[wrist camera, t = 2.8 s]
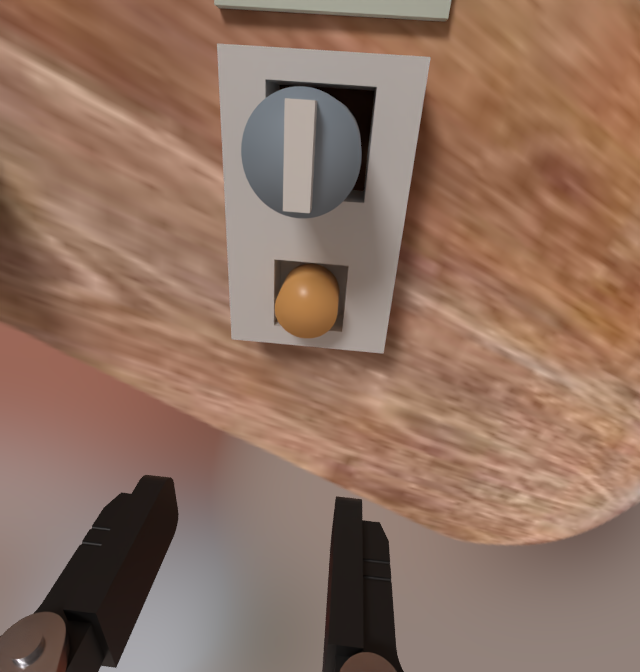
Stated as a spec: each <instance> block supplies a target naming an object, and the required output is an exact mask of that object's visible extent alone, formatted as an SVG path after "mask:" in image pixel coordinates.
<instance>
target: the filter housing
mask: <svg viewBox="0 0 640 672" xmlns="http://www.w3.org/2000/svg"><path fill="white" fill-rule="evenodd" d="M217 52H218V72H219V92H220V112H221V132H222V153H223V173H224V193H225V213H226V233H227V254H228V274H229V294H230V314H231V334H232V339H235V340H246V341H257V342H267V343H278V344H288V345H299V346H309V347H320V348H330V349H341V350H352V351H362V352H373V353H384V347H385V341H386V334H387V328H388V322H389V315H390V309H391V303H392V297H393V290H394V284H395V278H396V271H397V265H398V259H399V252H400V246H401V240H402V234H403V227H404V221H405V215H406V208H407V202H408V196H409V190H410V183H411V177H412V171H413V164H414V158H415V152H416V146H417V139H418V133H419V127H420V120H421V114H422V108H423V101H424V95H425V89H426V83H427V76H428V70H429V64H430V57H421V56H405V55H389V54H373V53H358V52H342V51H326V50H310V49H294V48H278V47H262V46H247V45H231V44H217ZM279 85H294V86H308V87H323V88H338V89H353V90H368V91H374V97H373V107H372V116H371V125H370V135H369V144H368V153H367V163H366V172H365V181H364V190H363V191H358V190H351V192H350V194H349V195H348V196H347V198H346V199H345V200H344V201H343V202H342V203H341V204H340V205H339V206H337V207H336V208H335V209H333V210H332V211H330V212H328V213H326V214H323V215H321V216H318V217H314V218H293V217H289V216H285V215H282V214H280V213H278V212H276V211H274V210H273V209H271V208H270V207H268V206H267V205H266V204H264V203H263V202H262V201H261V200H260V199H259V197H258V196H257V195H256V194H255V192H254V191H253V189H252V188H251V186H250V184H249V182H248V180H247V178H246V175H245V172H244V169H243V164H242V157H241V143H242V137H243V133H244V129H245V126H246V124H247V121H248V119H249V117H250V116H251V114H252V112H253V111H254V110H255V108H256V107H257V106H258V105H259V104H260V103H261V102H262V101H263V100H264V99H265V98H267V97H268V96H269V95H271V94H273V93H275V92H276V91H278V90H279ZM303 264H317V265H321V266H323V267H325V268H327V269H328V270H329V271H331V272H332V273H333V275H334V276H335V277H336V279H337V281H338V284H339V290H340V293H339V303H338V312H337V318H336V321H335V323H334V325H333V326H332V328H331V329H330V330H329V331H328V332H327V333H325V334H323V335H321V336H319V337H316V338H300V337H296V336H294V335H292V334H290V333H288V332H287V331H286V330H285V329H283V327H282V326H281V325H280V324H279V322H278V320H277V318H276V315H275V302H276V299H277V296H278V294H279V292H280V290H281V287H282V285H283V283H284V281H285V278H286V277H287V275H288V274H289V272H290V271H291V270H293V269H294V268H296V267H297V266H300V265H303Z"/></svg>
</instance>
